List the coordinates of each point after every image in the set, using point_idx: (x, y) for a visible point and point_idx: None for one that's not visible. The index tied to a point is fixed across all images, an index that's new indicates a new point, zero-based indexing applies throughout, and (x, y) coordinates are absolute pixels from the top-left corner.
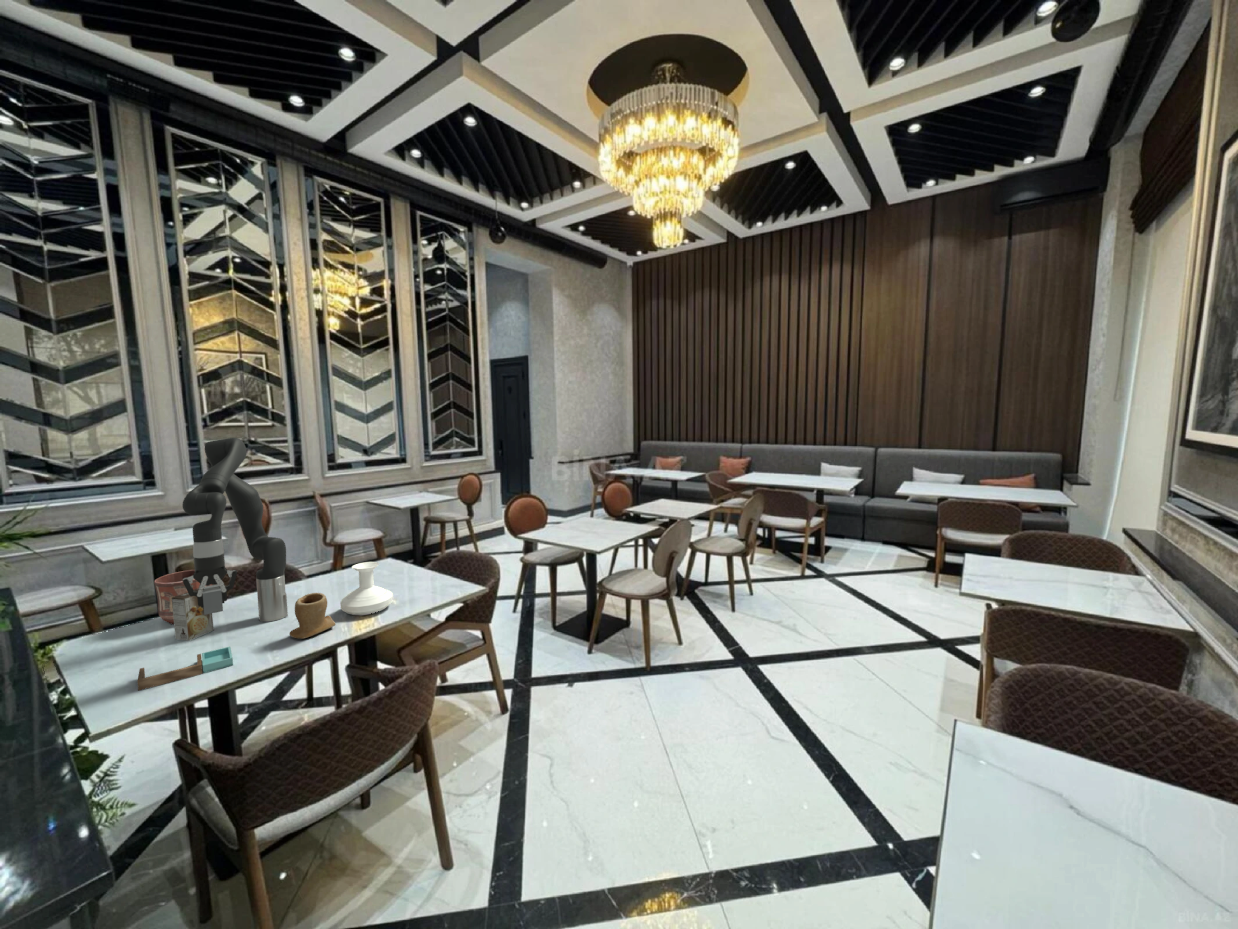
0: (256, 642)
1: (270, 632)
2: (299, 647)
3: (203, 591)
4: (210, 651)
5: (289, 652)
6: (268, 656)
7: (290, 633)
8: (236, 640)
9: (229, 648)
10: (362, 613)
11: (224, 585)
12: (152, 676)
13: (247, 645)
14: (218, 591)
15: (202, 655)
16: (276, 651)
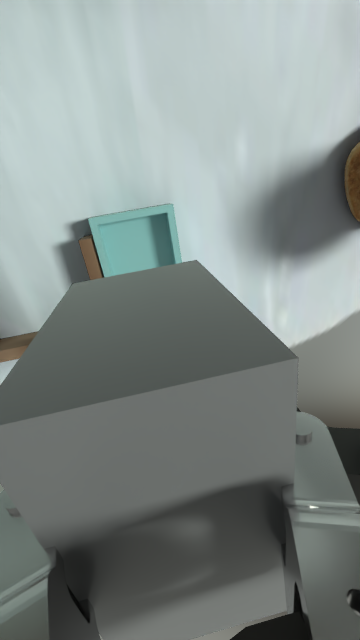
0: (241, 137)
1: (293, 31)
2: (338, 275)
3: (103, 621)
4: (114, 217)
5: (312, 296)
6: (265, 295)
7: (351, 171)
8: (172, 44)
9: (173, 226)
10: None
11: (344, 491)
12: (2, 357)
13: (214, 151)
14: (258, 603)
15: (96, 244)
16: (286, 270)
